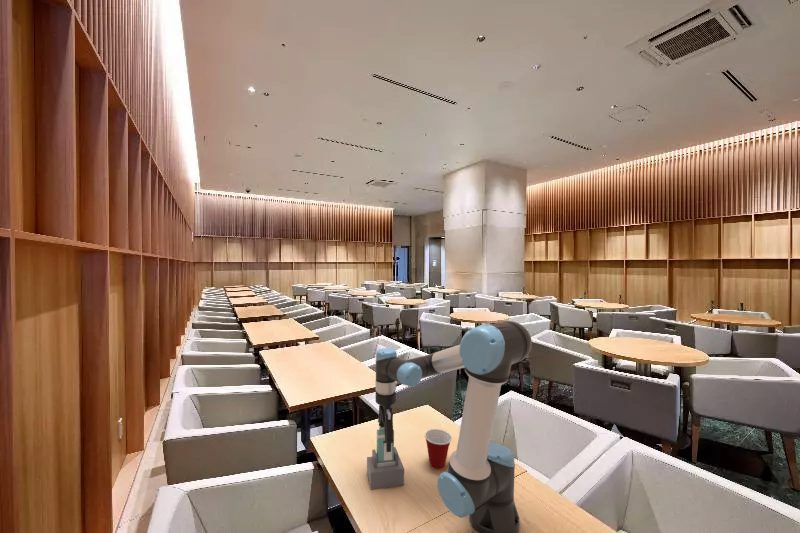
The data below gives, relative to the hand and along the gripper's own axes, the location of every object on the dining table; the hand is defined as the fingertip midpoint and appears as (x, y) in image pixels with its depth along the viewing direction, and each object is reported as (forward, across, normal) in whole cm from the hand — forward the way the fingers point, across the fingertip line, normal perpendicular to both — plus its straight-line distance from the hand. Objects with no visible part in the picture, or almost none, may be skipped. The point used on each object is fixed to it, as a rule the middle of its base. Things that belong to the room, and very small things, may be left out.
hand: (385, 451), depth 130 cm
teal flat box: (+4, 0, 0) cm, 4 cm away
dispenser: (+10, 0, 0) cm, 10 cm away
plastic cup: (+10, +4, -22) cm, 25 cm away
